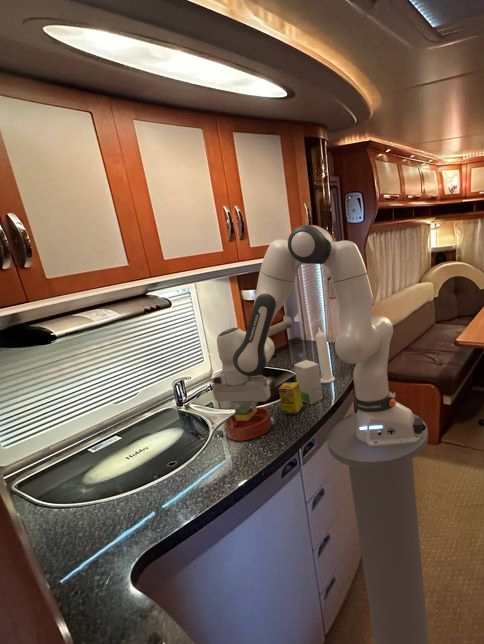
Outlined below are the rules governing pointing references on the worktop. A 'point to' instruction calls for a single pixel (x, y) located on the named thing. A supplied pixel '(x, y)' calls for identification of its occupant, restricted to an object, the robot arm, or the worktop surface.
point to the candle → (323, 357)
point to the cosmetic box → (309, 381)
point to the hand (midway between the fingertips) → (245, 411)
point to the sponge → (244, 413)
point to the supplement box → (291, 398)
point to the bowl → (249, 425)
